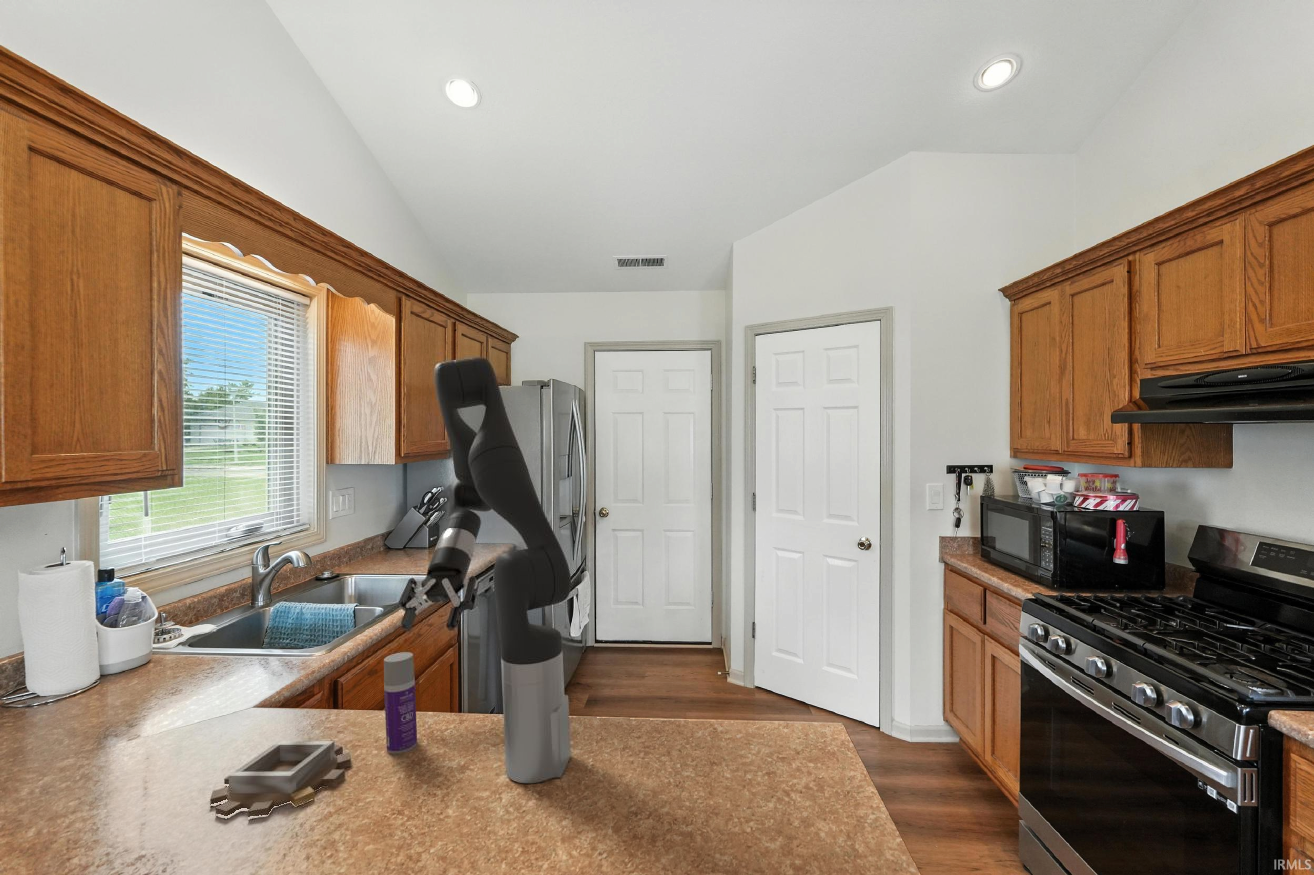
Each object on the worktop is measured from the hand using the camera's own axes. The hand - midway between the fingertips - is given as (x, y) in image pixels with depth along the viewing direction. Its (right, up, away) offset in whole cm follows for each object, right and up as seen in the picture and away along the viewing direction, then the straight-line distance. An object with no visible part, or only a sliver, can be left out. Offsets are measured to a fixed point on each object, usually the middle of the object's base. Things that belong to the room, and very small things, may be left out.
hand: (427, 629), depth 105 cm
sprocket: (-14, -17, -19) cm, 29 cm away
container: (0, -16, -10) cm, 19 cm away
